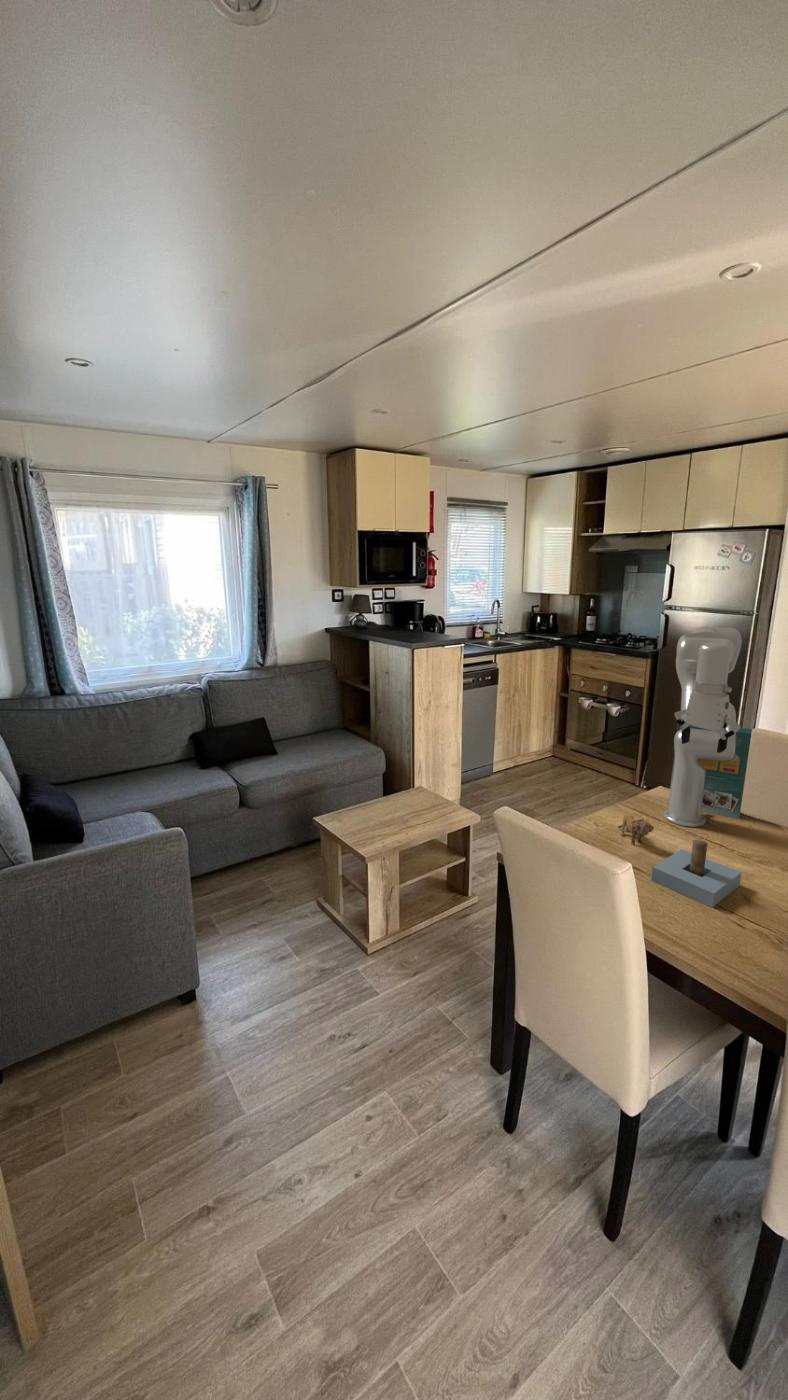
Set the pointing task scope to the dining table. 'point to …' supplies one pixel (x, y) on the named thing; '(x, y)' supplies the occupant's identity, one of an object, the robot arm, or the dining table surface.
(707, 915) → the dining table surface
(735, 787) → the cake mix box
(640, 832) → the lion figurine
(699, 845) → the peg
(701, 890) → the socket block
